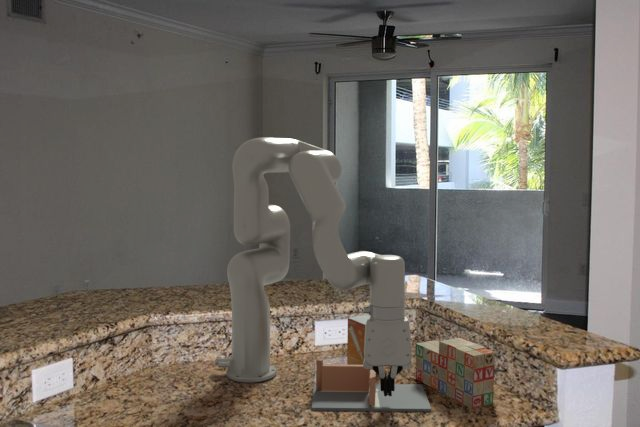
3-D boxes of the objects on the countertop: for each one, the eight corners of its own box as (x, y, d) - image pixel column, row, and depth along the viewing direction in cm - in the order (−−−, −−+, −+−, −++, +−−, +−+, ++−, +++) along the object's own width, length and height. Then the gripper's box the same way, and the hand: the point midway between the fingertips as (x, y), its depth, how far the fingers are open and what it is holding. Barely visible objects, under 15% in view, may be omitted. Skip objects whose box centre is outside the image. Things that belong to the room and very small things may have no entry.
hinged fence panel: (370, 389, 153) (370, 359, 153) (375, 389, 153) (376, 359, 152) (369, 406, 143) (369, 374, 142) (374, 406, 143) (375, 374, 142)
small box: (346, 365, 172) (346, 317, 171) (366, 361, 176) (366, 314, 174) (364, 374, 165) (364, 324, 164) (384, 370, 169) (385, 320, 168)
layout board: (311, 410, 143) (311, 407, 142) (313, 385, 157) (313, 383, 157) (431, 411, 142) (431, 408, 142) (422, 386, 157) (422, 384, 157)
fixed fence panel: (316, 391, 152) (316, 361, 151) (316, 388, 154) (316, 359, 153) (369, 391, 152) (369, 361, 151) (368, 389, 153) (368, 359, 153)
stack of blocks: (414, 379, 162) (415, 331, 161) (435, 375, 165) (435, 327, 164) (472, 409, 143) (473, 354, 142) (494, 404, 146) (495, 350, 145)
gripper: (353, 316, 139) (353, 400, 140) (424, 316, 139) (423, 400, 140) (352, 308, 146) (352, 388, 148) (419, 308, 146) (419, 388, 148)
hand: (387, 393), depth 144 cm, fingers closed
